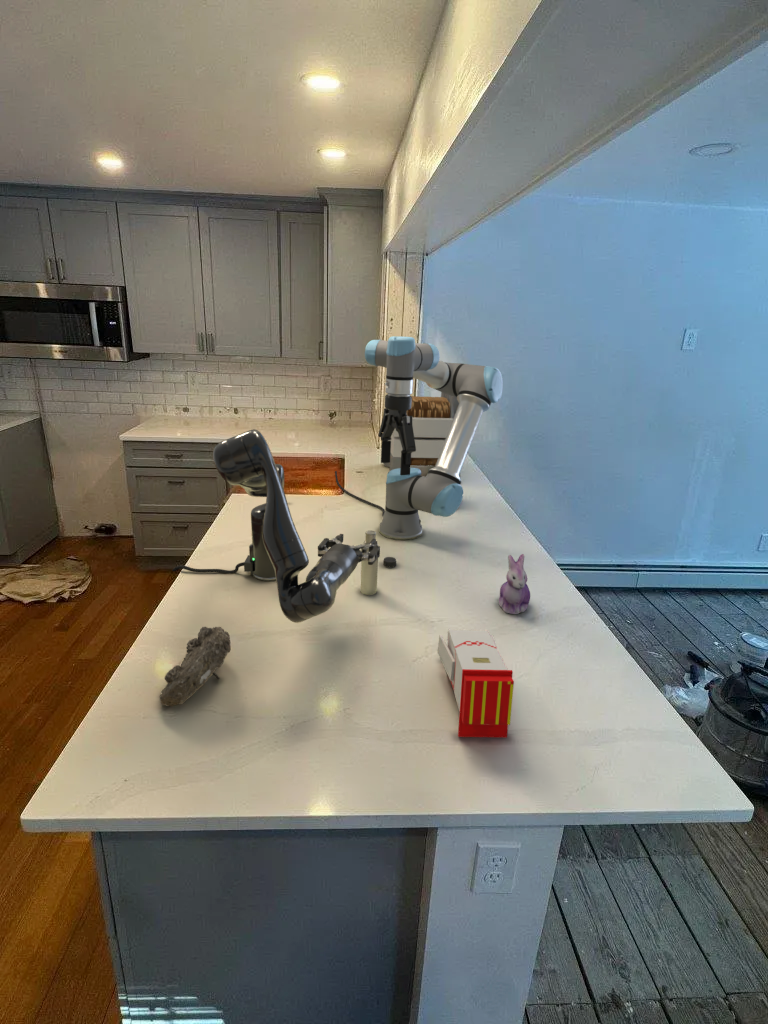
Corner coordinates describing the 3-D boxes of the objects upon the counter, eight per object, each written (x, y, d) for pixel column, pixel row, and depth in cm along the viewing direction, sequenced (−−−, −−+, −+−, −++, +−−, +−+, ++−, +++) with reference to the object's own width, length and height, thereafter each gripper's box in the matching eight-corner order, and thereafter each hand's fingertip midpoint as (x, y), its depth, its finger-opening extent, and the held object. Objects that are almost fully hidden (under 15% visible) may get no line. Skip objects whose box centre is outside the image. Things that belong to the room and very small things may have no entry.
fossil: (184, 629, 128) (231, 598, 123) (214, 657, 131) (261, 628, 126) (138, 700, 109) (191, 667, 104) (173, 731, 112) (227, 701, 107)
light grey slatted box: (382, 463, 289) (386, 382, 275) (445, 464, 293) (451, 384, 279) (390, 482, 257) (394, 392, 243) (460, 483, 261) (468, 394, 247)
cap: (398, 564, 176) (398, 559, 175) (390, 569, 173) (391, 563, 172) (388, 561, 178) (388, 555, 177) (380, 565, 175) (380, 559, 174)
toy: (488, 613, 130) (523, 677, 101) (484, 667, 133) (517, 744, 104) (435, 612, 130) (455, 676, 101) (432, 666, 133) (451, 743, 103)
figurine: (512, 619, 147) (519, 566, 142) (488, 601, 156) (494, 551, 151) (540, 611, 151) (548, 560, 146) (515, 594, 160) (522, 546, 155)
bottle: (364, 596, 156) (366, 536, 150) (357, 589, 160) (359, 530, 154) (379, 593, 158) (382, 534, 152) (372, 586, 162) (374, 528, 155)
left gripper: (366, 555, 124) (386, 529, 139) (306, 546, 127) (331, 521, 142) (365, 586, 127) (384, 557, 141) (306, 576, 130) (331, 549, 145)
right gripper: (369, 388, 167) (366, 458, 174) (406, 402, 145) (401, 481, 153) (392, 388, 170) (389, 457, 177) (431, 401, 148) (426, 479, 156)
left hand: (358, 539), depth 142 cm, fingers open, 8 cm apart
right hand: (394, 468), depth 165 cm, fingers open, 13 cm apart
